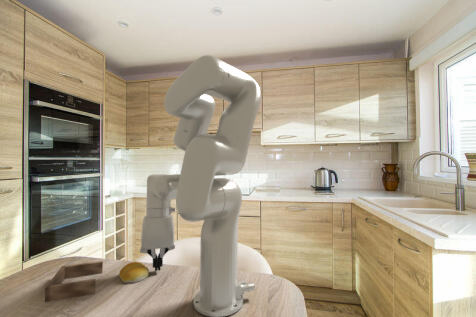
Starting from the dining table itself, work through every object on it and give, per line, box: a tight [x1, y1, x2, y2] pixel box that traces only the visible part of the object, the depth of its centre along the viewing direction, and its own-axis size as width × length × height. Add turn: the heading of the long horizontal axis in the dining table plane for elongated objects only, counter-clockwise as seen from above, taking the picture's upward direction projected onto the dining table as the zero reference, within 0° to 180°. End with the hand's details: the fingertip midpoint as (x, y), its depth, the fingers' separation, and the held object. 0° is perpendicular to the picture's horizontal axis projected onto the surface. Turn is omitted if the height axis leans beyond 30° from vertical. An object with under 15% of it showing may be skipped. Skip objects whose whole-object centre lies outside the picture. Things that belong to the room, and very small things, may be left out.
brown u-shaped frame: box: [44, 260, 104, 303], centre depth 69 cm, size 11×14×4 cm
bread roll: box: [118, 261, 150, 284], centre depth 74 cm, size 8×9×4 cm
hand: (157, 268), depth 77 cm, fingers closed
